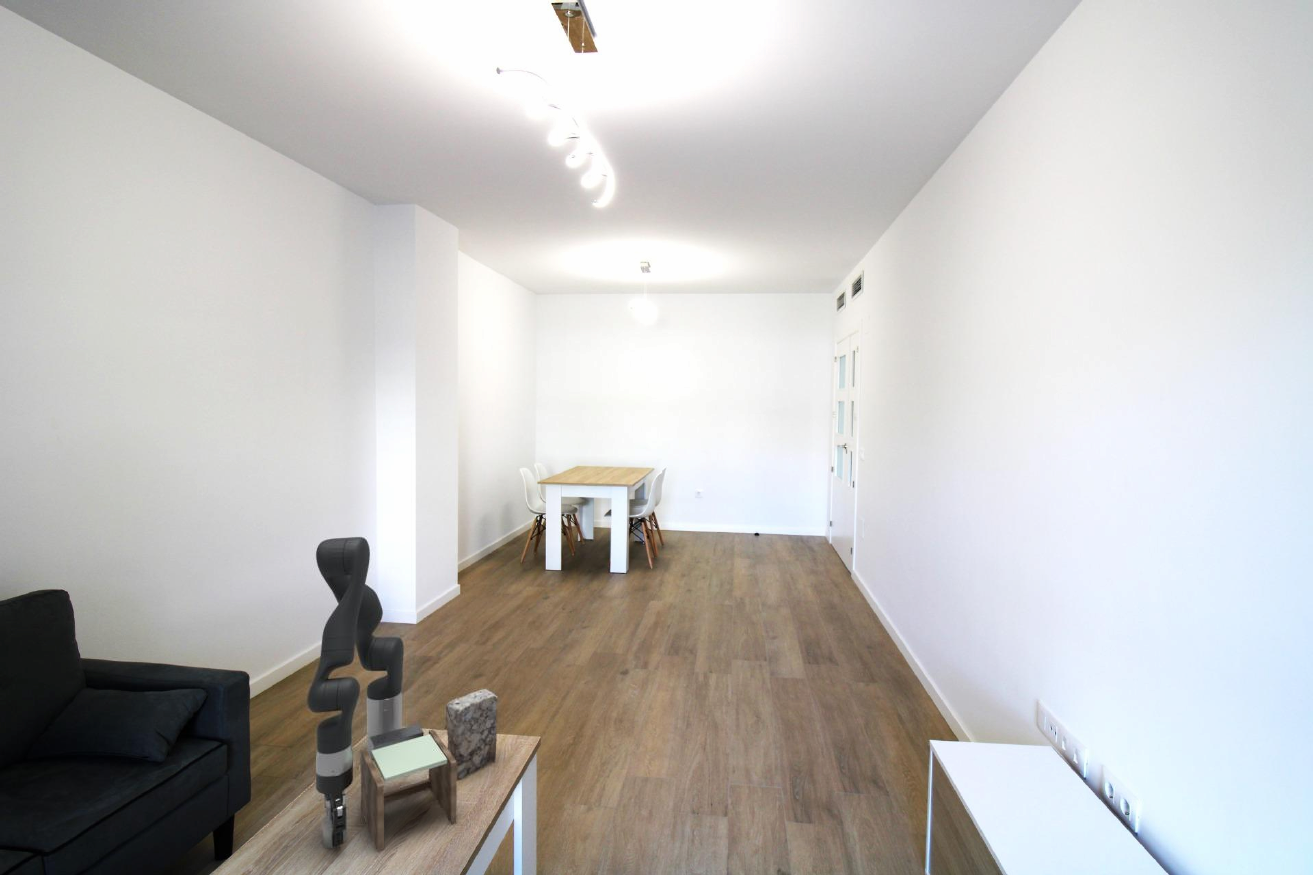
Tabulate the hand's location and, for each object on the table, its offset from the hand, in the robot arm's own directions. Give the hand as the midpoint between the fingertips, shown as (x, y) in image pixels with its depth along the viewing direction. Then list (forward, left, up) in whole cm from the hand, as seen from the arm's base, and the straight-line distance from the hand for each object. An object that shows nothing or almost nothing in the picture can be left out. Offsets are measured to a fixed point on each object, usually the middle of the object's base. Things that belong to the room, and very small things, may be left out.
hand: (334, 836), depth 143 cm
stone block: (-11, +36, -1) cm, 38 cm away
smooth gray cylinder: (0, 0, -1) cm, 1 cm away
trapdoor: (-2, +16, +11) cm, 20 cm away
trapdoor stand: (+1, +16, -1) cm, 16 cm away
